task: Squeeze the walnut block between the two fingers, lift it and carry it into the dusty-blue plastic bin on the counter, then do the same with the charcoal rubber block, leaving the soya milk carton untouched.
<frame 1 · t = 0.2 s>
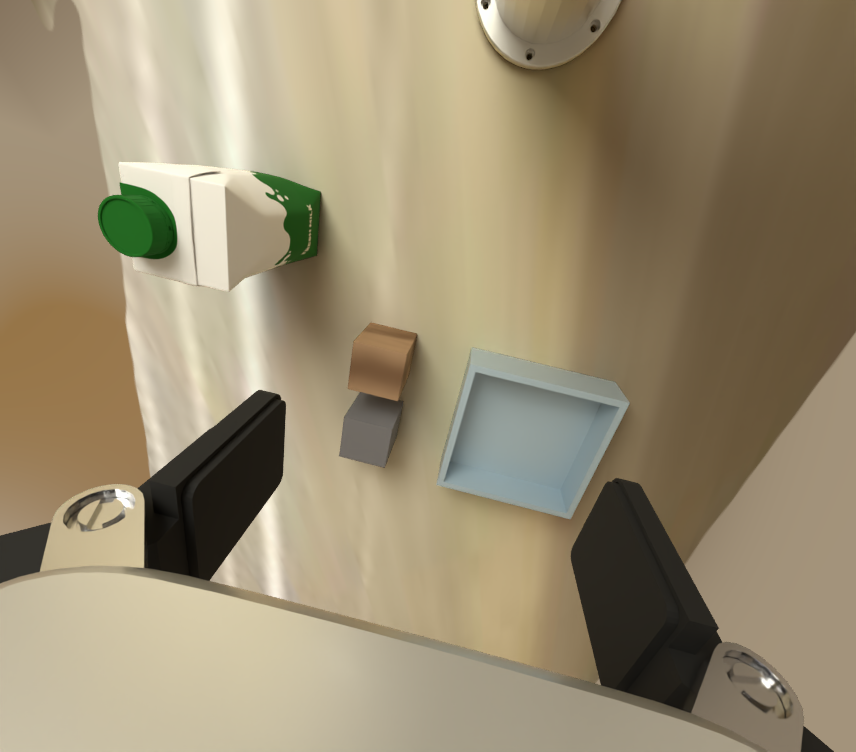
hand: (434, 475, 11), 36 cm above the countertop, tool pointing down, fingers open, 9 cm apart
charcoal block: (379, 414, 54), on the countertop
bin: (520, 424, 51), on the countertop
walnut block: (390, 349, 49), on the countertop
soya milk: (290, 218, 44), on the countertop
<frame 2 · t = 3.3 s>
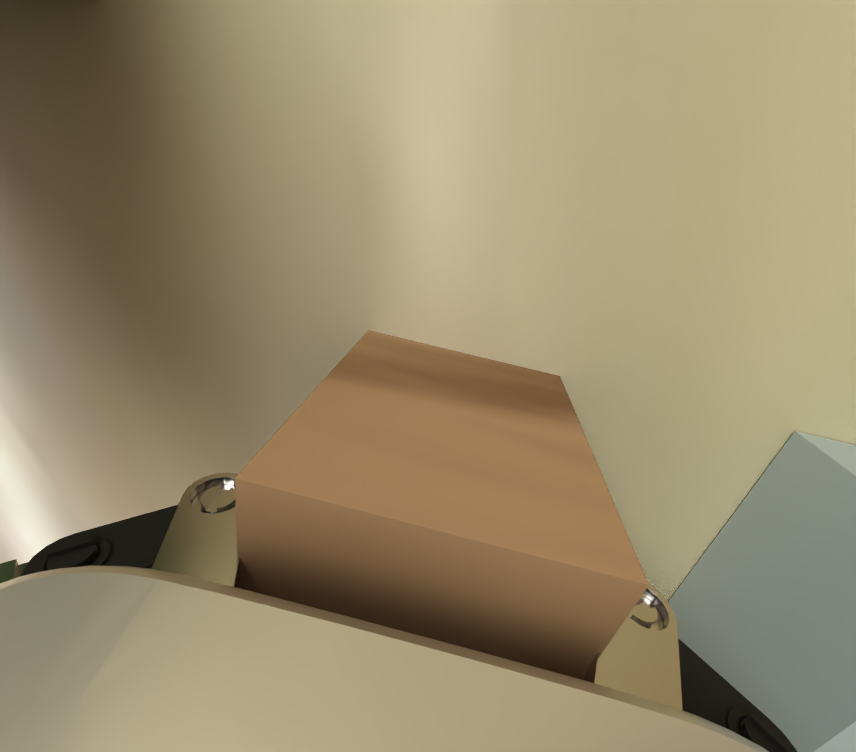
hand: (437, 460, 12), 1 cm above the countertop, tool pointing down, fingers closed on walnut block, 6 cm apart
walnut block: (442, 433, 13), on the countertop, touching gripper
when the fingers open (4 cm above the countertop, at t = 8.3 s): walnut block drops 2 cm, resting on bin.
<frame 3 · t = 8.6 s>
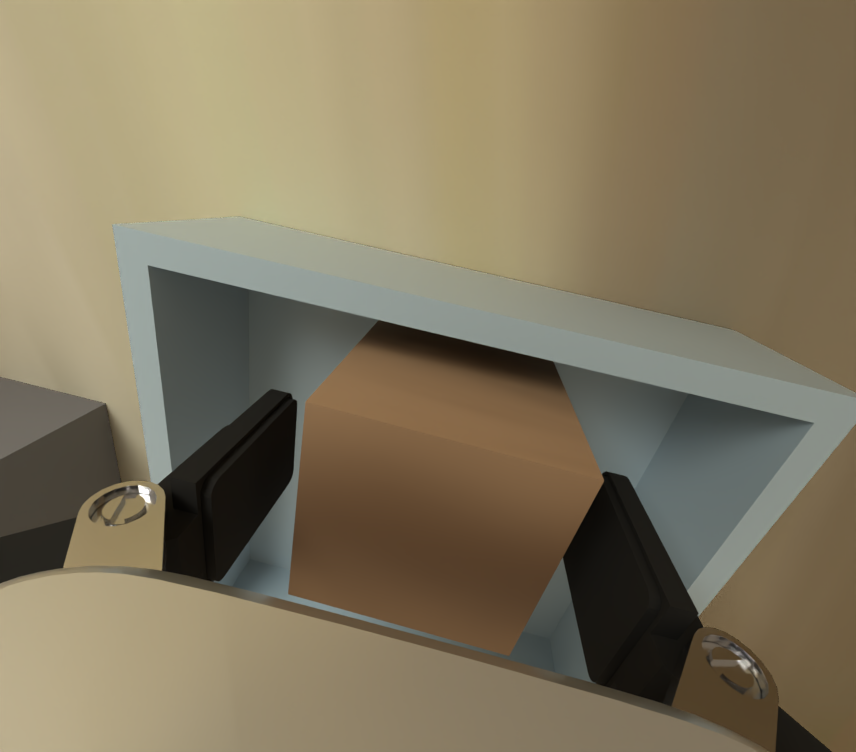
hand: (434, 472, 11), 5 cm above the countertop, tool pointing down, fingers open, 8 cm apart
charcoal block: (62, 438, 20), on the countertop
bin: (430, 468, 18), on the countertop
walnut block: (447, 401, 15), point 1 cm above the countertop, touching bin
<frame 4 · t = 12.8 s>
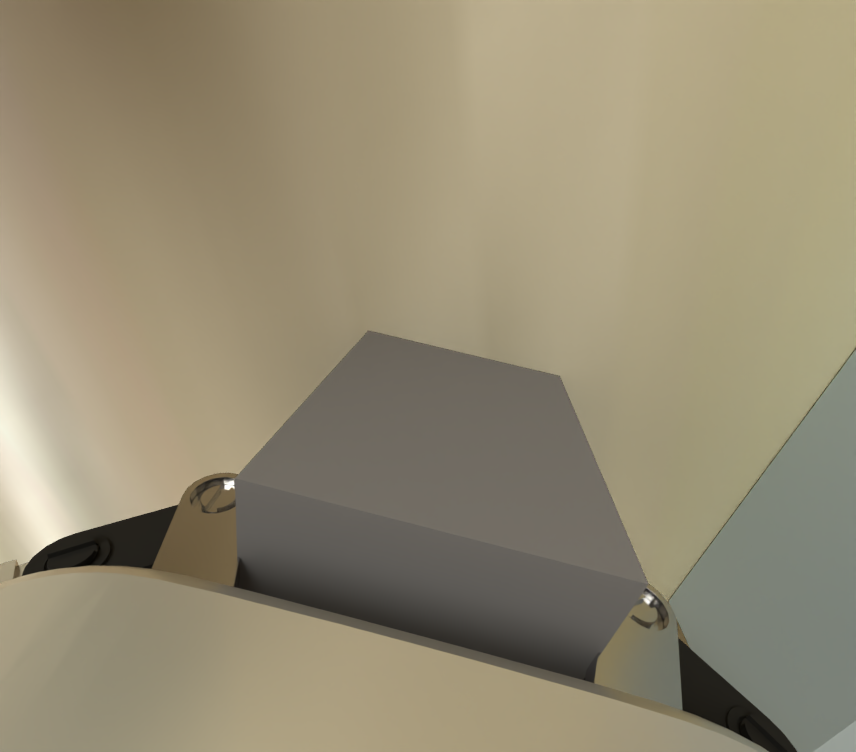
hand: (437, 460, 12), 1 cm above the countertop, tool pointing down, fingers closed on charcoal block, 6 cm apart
charcoal block: (442, 433, 13), on the countertop, touching gripper
when the fingers open (4 cm above the countertop, at t = 17.7 s): charcoal block drops 2 cm, resting on bin.
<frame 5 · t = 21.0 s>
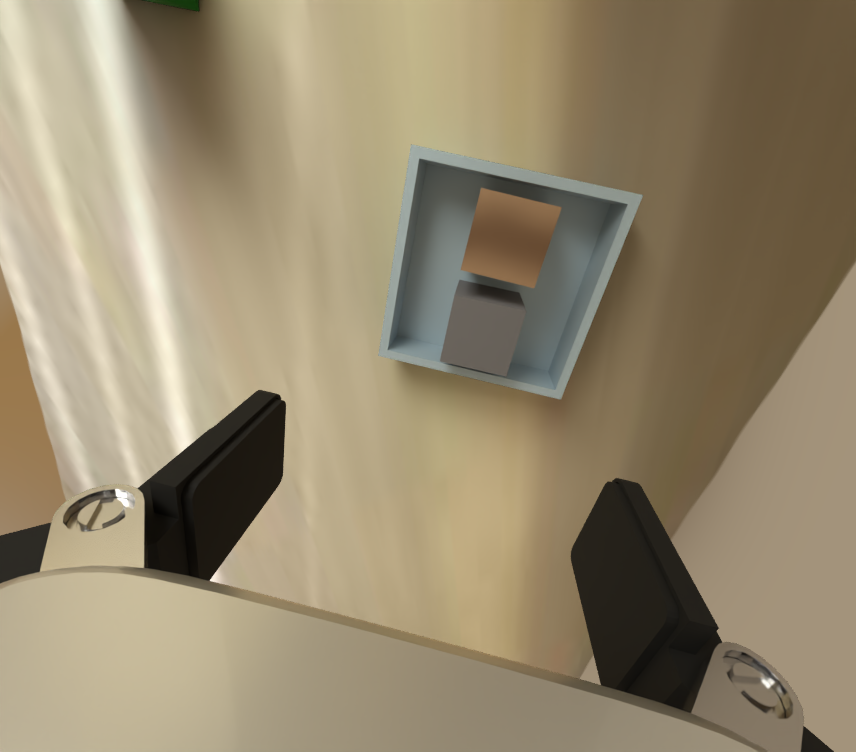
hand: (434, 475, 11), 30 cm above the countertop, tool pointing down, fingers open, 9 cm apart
charcoal block: (481, 315, 39), point 1 cm above the countertop, touching bin
bin: (492, 275, 38), on the countertop
walnut block: (504, 233, 35), point 1 cm above the countertop, touching bin
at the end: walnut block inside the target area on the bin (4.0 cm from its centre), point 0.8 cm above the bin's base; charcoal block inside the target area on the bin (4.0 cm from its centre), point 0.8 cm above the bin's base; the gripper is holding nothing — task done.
